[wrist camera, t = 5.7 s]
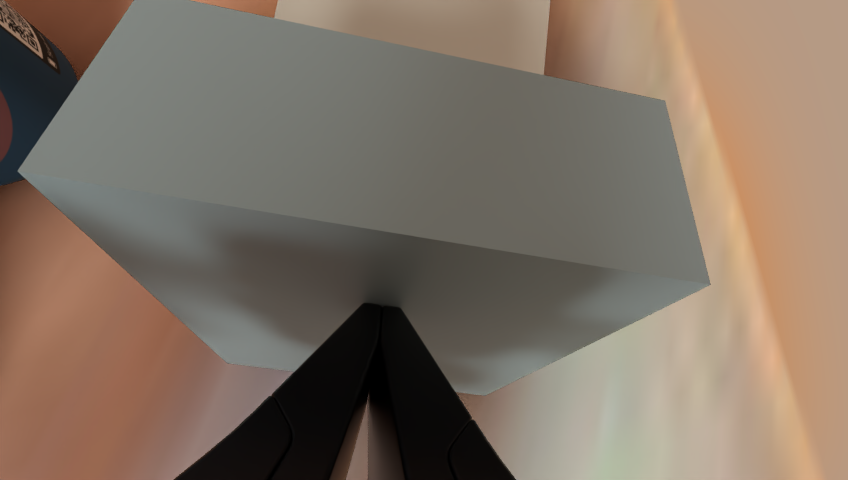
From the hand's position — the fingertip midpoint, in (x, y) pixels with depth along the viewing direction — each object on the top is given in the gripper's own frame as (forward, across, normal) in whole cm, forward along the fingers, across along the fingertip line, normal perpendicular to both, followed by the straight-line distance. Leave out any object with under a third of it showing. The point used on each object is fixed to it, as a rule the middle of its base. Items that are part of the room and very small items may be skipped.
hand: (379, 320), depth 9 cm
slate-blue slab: (+6, 0, -6) cm, 9 cm away
